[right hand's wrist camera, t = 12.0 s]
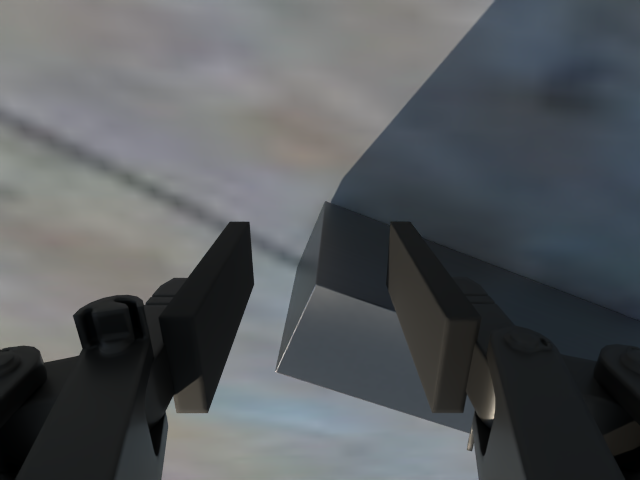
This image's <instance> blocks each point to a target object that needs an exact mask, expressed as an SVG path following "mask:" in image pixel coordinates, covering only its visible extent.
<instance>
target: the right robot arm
mask: <svg viewBox="0 0 640 480" xmlns="http://www.w3.org/2000/svg"><path fill="white" fill-rule="evenodd" d="M253 286H254V276H253V263H252V250H251V236H250V223H249V222H229V224H228V225H227V226H226V228H225V229H224V230H223V232H222V233H221V234H220V236H219V237H218V238H217V240H216V241H215V242H214V244H213V245H212V246H211V248H210V249H209V250H208V252H207V253H206V254H205V256H204V257H203V258H202V260H201V261H200V262H199V264H198V265H197V266H196V268H195V269H194V270H193V272H192V273H191V274H190V276H189V277H188V278H173V279H171V280H170V281H168V282H166V283H165V284H163V285H161V286H160V287H159V288H158V289H157V290H156V292H155V293H154V294H153V295H152V297H150V299H149V300H148V301H147V302H146V305H143V300H141V299H140V298H138V297H136V296H131V295H116V296H111V297H106V298H102V299H99V300H97V301H94V302H91V303H89V304H87V305H86V306H84V307H82V308H80V309H79V310H78V311H77V312H76V313H75V314H74V315H73V317H74V321H75V324H76V328H77V331H78V335H79V338H80V341H81V345H82V348H83V349H82V351H81V353H80V355H79V356H75V357H71V358H66V359H61V360H55V361H50V362H45V363H44V362H43V359H42V357H41V354H40V351H39V350H38V349H36V348H35V347H31V346H17V347H8V348H4V349H2V350H0V480H161V477H162V470H163V462H164V454H165V447H166V439H167V431H168V422H167V416H166V409H167V407H168V405H169V403H170V401H171V399H172V397H174V402H175V407H176V412H177V413H208V411H209V408H210V405H211V403H212V400H213V397H214V394H215V392H216V389H217V386H218V383H219V380H220V378H221V375H222V372H223V369H224V367H225V364H226V361H227V358H228V355H229V353H230V350H231V347H232V344H233V342H234V339H235V336H236V333H237V330H238V328H239V325H240V322H241V319H242V317H243V314H244V311H245V308H246V305H247V303H248V300H249V297H250V294H251V292H252V289H253ZM386 286H387V289H388V291H389V294H390V297H391V300H392V303H393V305H394V308H395V311H396V314H397V316H398V319H399V322H400V325H401V328H402V330H403V333H404V336H405V339H406V341H407V344H408V347H409V350H410V353H411V355H412V358H413V361H414V364H415V366H416V369H417V372H418V375H419V378H420V380H421V383H422V386H423V389H424V391H425V394H426V397H427V400H428V403H429V405H430V408H431V411H432V413H463V412H464V407H465V402H466V397H467V395H468V397H469V399H470V401H471V403H472V405H473V407H474V409H475V411H474V416H473V421H472V426H471V431H470V435H469V440H468V446H467V450H469V451H472V449H473V444H474V446H475V454H476V461H477V469H478V476H479V480H640V348H638V347H636V346H630V345H621V344H613V345H606V346H605V347H604V348H602V349H601V351H600V354H599V357H598V360H597V361H593V360H588V359H583V358H578V357H573V356H568V355H563V354H560V352H559V350H558V348H557V347H556V346H555V345H554V344H553V342H552V341H551V340H549V339H548V338H546V337H545V336H543V335H542V334H540V333H538V332H535V331H533V330H531V329H528V328H523V327H519V326H515V325H514V323H513V322H512V321H511V320H510V319H509V318H508V317H507V315H506V314H505V313H504V312H503V311H502V310H501V308H500V307H499V306H498V305H497V304H495V302H494V300H493V299H492V298H491V297H490V296H488V294H487V292H486V291H485V290H484V289H483V288H482V287H481V285H479V284H478V283H476V282H474V281H473V280H471V279H469V278H467V277H451V276H450V274H449V273H448V272H447V270H446V269H445V268H444V266H443V265H442V264H441V262H440V261H439V260H438V258H437V257H436V256H435V254H434V253H433V252H432V250H431V249H430V248H429V246H428V245H427V244H426V242H425V241H424V240H423V238H422V237H421V236H420V234H419V233H418V232H417V230H416V229H415V228H414V226H413V225H412V224H411V222H391V224H390V237H389V250H388V263H387V277H386Z"/></svg>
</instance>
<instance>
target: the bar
mask: <svg viewBox="0 0 640 480" xmlns="http://www.w3.org/2000/svg"><path fill="white" fill-rule="evenodd" d="M389 237H390V226H389V225H386V224H384V223H381V222H379V221H376V220H373V219H371V218H368V217H365V216H363V215H360V214H358V213H355V212H352V211H350V210H347V209H345V208H342V207H339V206H337V205H334V204H331V203H329V202H326V201H325V203H324V205H323V207H322V210H321V212H320V215H319V217H318V219H317V222H316V224H315V227H314V229H313V231H312V234H311V236H310V238H309V241H308V243H307V246H306V248H305V250H304V253H303V255H302V258H301V260H300V262H299V265H298V267H297V271H296V276H295V281H294V285H293V290H292V295H291V299H290V304H289V309H288V314H287V318H286V323H285V328H284V332H283V337H282V342H281V347H280V351H279V356H278V361H277V366H276V370H275V372H277V373H280V374H283V375H286V376H289V377H293V378H296V379H299V380H302V381H305V382H308V383H312V384H315V385H318V386H321V387H324V388H327V389H330V390H334V391H337V392H340V393H343V394H346V395H349V396H353V397H356V398H359V399H362V400H365V401H368V402H372V403H375V404H378V405H381V406H384V407H387V408H391V409H394V410H397V411H400V412H403V413H406V414H410V415H413V416H416V417H419V418H422V419H425V420H429V421H432V422H435V423H438V424H441V425H444V426H448V427H451V428H454V429H457V430H460V431H463V432H467V433H470V431H471V426H472V421H473V416H474V411H475V409H474V407H473V405H472V403H471V401H470V399H469V397H468V395H467V397H466V402H465V407H464V412H463V413H432V411H431V408H430V405H429V403H428V400H427V397H426V394H425V391H424V389H423V386H422V383H421V380H420V378H419V375H418V372H417V369H416V366H415V364H414V361H413V358H412V355H411V353H410V350H409V347H408V344H407V341H406V339H405V336H404V333H403V330H402V328H401V325H400V322H399V319H398V316H397V314H396V311H395V308H394V305H393V303H392V300H391V297H390V294H389V291H388V289H387V286H386V277H387V263H388V250H389ZM423 240H424V241H425V242H426V244H427V245H428V246H429V248H430V249H431V250H432V252H433V253H434V254H435V256H436V257H437V258H438V260H439V261H440V262H441V264H442V265H443V266H444V268H445V269H446V270H447V272H448V273H449V274H450V276H451V277H467V278H469V279H471V280H473V281H474V282H476V283H478V284H479V285H481V287H482V288H483V289H484V290H485V291H486V292H487V294H488V296H490V297H491V298H492V299H493V300H494V302H495V304H497V305H498V306H499V307H500V308H501V310H502V311H503V312H504V313H505V314H506V315H507V317H508V318H509V319H510V320H511V321H512V322H513V323H514V325H515V326H519V327H523V328H528V329H531V330H533V331H535V332H538V333H540V334H542V335H543V336H545V337H546V338H548V339H549V340H551V341H552V342H553V344H554V345H555V346H556V347H557V348H558V350H559V352H560V354H563V355H568V356H573V357H578V358H583V359H588V360H593V361H597V360H598V357H599V354H600V351H601V349H602V348H604V347H605V346H606V345H613V344H621V345H630V346H636V347H638V348H640V321H638V320H635V319H632V318H630V317H627V316H624V315H622V314H619V313H617V312H614V311H611V310H609V309H606V308H604V307H601V306H598V305H596V304H593V303H590V302H588V301H585V300H583V299H580V298H577V297H575V296H572V295H570V294H567V293H564V292H562V291H559V290H556V289H554V288H551V287H549V286H546V285H543V284H541V283H538V282H536V281H533V280H530V279H528V278H525V277H522V276H520V275H517V274H515V273H512V272H509V271H507V270H504V269H501V268H499V267H496V266H494V265H491V264H488V263H486V262H483V261H481V260H478V259H475V258H473V257H470V256H467V255H465V254H462V253H460V252H457V251H454V250H452V249H449V248H447V247H444V246H441V245H439V244H436V243H433V242H431V241H428V240H426V239H423Z"/></svg>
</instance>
